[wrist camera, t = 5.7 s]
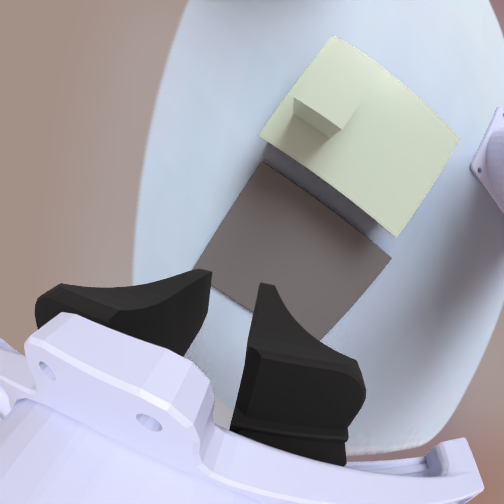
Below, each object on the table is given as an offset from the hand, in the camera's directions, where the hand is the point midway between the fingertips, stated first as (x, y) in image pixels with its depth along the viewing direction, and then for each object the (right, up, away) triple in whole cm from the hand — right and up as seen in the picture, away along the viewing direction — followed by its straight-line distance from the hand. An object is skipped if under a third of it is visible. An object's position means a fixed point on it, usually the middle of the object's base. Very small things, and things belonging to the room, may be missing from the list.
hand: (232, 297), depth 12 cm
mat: (+4, +1, +9) cm, 10 cm away
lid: (+8, +9, +3) cm, 12 cm away
